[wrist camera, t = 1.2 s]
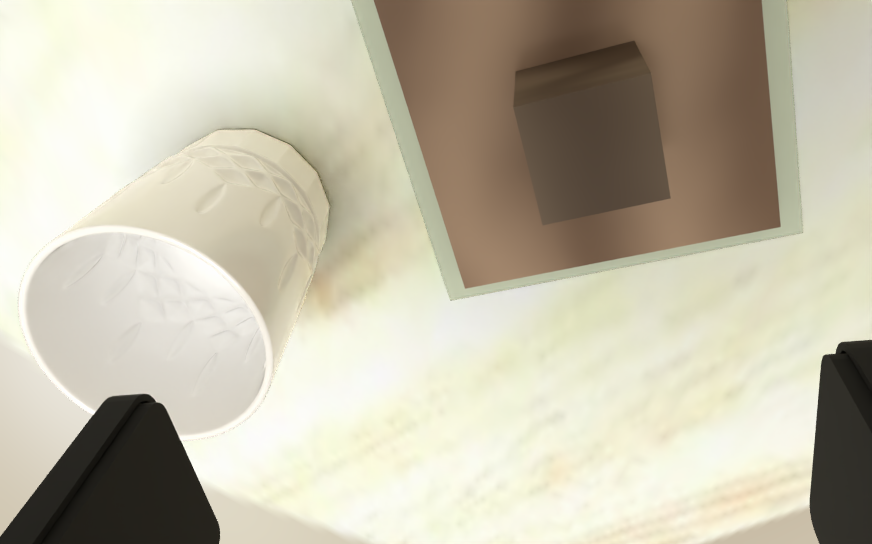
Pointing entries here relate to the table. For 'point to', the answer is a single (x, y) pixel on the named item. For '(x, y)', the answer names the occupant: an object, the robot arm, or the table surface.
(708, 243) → the mat
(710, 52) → the lid
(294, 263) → the white cup
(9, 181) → the table surface
